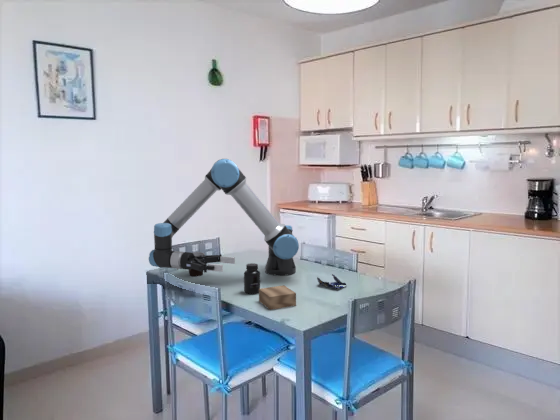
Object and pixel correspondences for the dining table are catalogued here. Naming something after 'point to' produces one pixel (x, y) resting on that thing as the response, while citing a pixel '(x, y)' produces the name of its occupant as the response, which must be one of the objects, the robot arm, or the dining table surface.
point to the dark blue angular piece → (332, 283)
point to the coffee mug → (195, 272)
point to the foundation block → (277, 297)
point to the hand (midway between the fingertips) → (228, 264)
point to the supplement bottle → (251, 279)
